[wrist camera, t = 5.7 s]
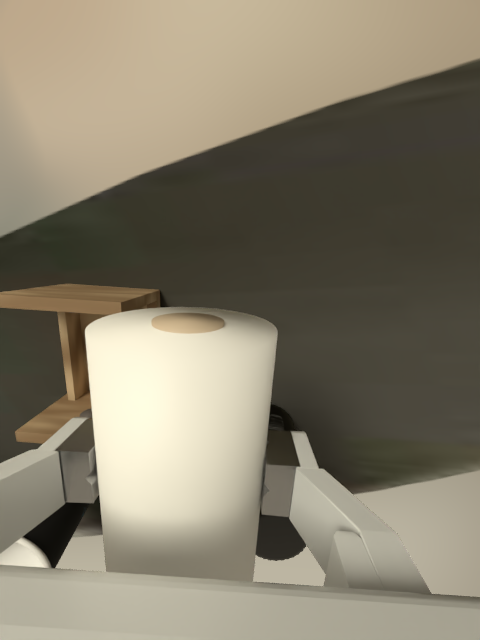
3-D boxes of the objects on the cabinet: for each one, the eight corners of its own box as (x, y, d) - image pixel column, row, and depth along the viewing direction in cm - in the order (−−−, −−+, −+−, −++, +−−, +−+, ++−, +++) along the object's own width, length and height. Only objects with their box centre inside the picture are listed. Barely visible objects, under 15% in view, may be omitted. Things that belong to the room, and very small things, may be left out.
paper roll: (140, 300, 9) (22, 341, 4) (269, 309, 9) (293, 360, 4) (146, 493, 11) (71, 663, 7) (252, 502, 11) (255, 682, 6)
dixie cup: (56, 434, 31) (-48, 527, 20) (118, 444, 31) (48, 543, 20) (57, 484, 32) (-36, 593, 22) (116, 494, 32) (51, 608, 22)
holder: (67, 283, 26) (-12, 293, 18) (159, 289, 26) (120, 302, 18) (79, 393, 29) (16, 441, 21) (161, 399, 29) (129, 450, 21)
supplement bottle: (225, 432, 30) (210, 543, 18) (258, 391, 28) (263, 483, 16) (271, 460, 30) (285, 585, 19) (305, 421, 29) (343, 530, 17)
